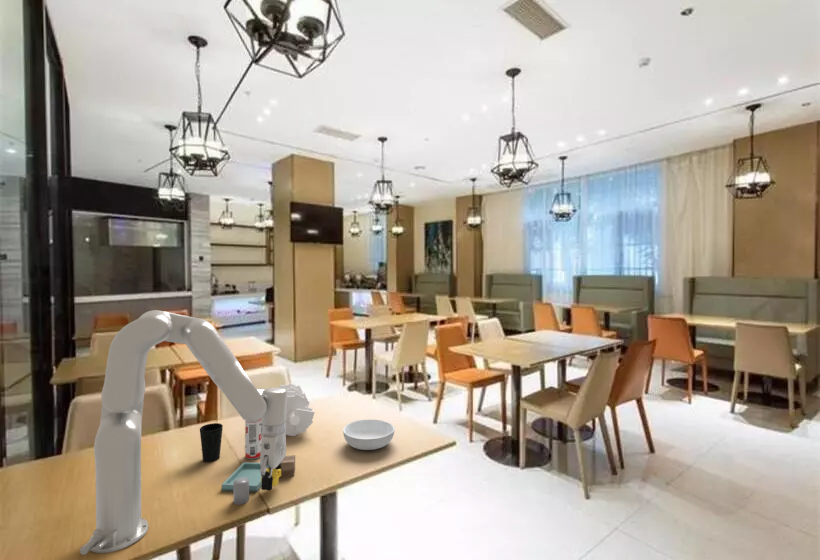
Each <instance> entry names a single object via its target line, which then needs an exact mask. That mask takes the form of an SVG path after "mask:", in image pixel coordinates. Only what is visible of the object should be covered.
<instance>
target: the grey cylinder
mask: <svg viewBox="0 0 820 560" xmlns="http://www.w3.org/2000/svg"><path fill="white" fill-rule="evenodd" d="M232 492H233V494H232V495H233V496H232V497H233V502H232V503H233V504H234V505H235V506H236V505H237V506H239V505H244V504H246V503H248V502H249V500H250V492H249V479H248V478H245V477H243V478H239V479H236V480H235V481H234V482H233V491H232Z"/></svg>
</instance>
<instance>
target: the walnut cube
mask: <svg viewBox="0 0 820 560" xmlns="http://www.w3.org/2000/svg"><path fill="white" fill-rule="evenodd" d="M280 466H281V478H285V477H286V478H287V477H294V476H295V472H296V454H295V455H294V454H292V455H286V456H285V458H284V459H283V460H282V465H280Z"/></svg>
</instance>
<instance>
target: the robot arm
mask: <svg viewBox="0 0 820 560" xmlns="http://www.w3.org/2000/svg"><path fill="white" fill-rule="evenodd" d="M163 342H169V343H175V344H183V345H185V346H186V347H187V348H188V349H189V351H190V352H191V354H192V355H193V356H194V358H195V359H196V360H197V361H198V362H199V365H201V367H202V368H203V370H204V371H205V373H206V374H207V375H208V376H209V377H210V379H211V380H212V382H213V383H214V384H215V386H217V387H218V388H219V389H220V391H221V392H222V393H223V394H224V396H225V397H226V399H228V401H229V402H230V404H231V405H232V407H234V409H235V410H236V412H237V413H238V415H240V417H241V418H242V420H244V421H248V422H256V421H259V420H260V419H261V418H262V419H261V434H262V435H263V436H262V443H261V454H260V457H259V463H260V466H261V469H260V473H261V478H262V486H261V488H260V489H261V490H263V491H271V490H272V489H273V486H272V480H273V477H271V476H272V470H273V469H276V470H277V469H281V466H280V465H282V460H283V459H284V458H285V456H287V435H286V434H285V432H286V412H287V391H286V390H285V389H284V388H280V386H274V387H269V388H264V389H262V388H257V387H256V386H255V385H254V383H253V382H252V380H251V379H250V378H249V376H248V375H247V373H246V372H245V371H244V369H243V367H242V365H241V363H240V361H239V360H238V359H237V358H236V356H235V355H234V353H233V352H232V351H231V349H230V348H229V346H228V345H227V344H226V342H225V341H224V339H223V338H222V337H221V335H220V334H219V332H218V331H217V329H216V328H215V327H214V326H213V325H212V323H210V321H208V320H205V319H203V318H198V317H195V316H189V315H184V314H183V315H182V314H178V313H174V312H170V311H165V310H158V309H153V310H148V311H146V312H144V313H143V314H141V316H139V318H137V319H135V320H133V321H131V322H129V323H128V324H125V326H124V327H122V328H121V329H120V330H119V331H118V332H117V333H116V334H115V336H114V337H113V339H112V341H111V343H110V346H109V348H108V353H107V354H108V355H107V361H106V367H105V374H104V375H105V376H104V380H103V381H104V382H103V387H102V390H101V397H100V398H101V410H100V411H101V412H100V421H99V427H98V429H97V432H96V435H95V438H94V444H93V446H94V447H93V451H94V466H95V467H94V468H95V523H96V524H95V530H93V531H92V535H91V536H90V538H89V539H88V542H86V543H85V544H84V545H82V546H81V547H80V549H79V552H80V554H81V555H83V556H85V555H87V554H88V553H89V552H92V553H96V554H106V553H113V552H116V551H119V550H123V549H125V548H127V547H129V546H131V545H133V544H135V543H136V542H138V541H139V540H141V539H142V538H143V537H144V536H145V535H146V533H147V532H148V530H149V522H148V521H147V520H146V519H144V518H142V423H143V422H142V418H143V409H144V398H145V393H146V380H145V377H146V367H147V366H146V365H147V361H148V354H149V352H150V350H151V349H152V348H153V347H154V346H156V345H158V344H161V343H163ZM267 464H269V465H270V467H269V466H267ZM266 469H270V470H269V473H268V471H266ZM281 478H282V477H281V476H280V477H279V479H281Z"/></svg>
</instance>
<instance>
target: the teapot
mask: <svg viewBox="0 0 820 560" xmlns="http://www.w3.org/2000/svg"><path fill="white" fill-rule="evenodd" d="M269 470H270V469H266V471H268V473H269ZM280 476H281V469H277V470H276V469H273V470H272V476H271V477H273V480H272V487H277V486H278V485H279V479H280V478H279V477H280ZM261 483H262V478H261Z"/></svg>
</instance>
